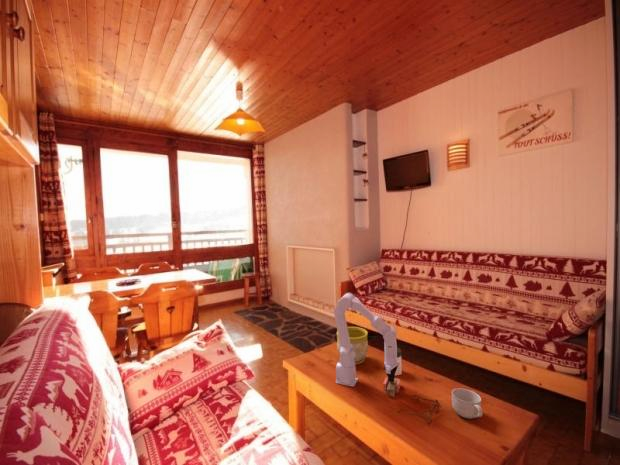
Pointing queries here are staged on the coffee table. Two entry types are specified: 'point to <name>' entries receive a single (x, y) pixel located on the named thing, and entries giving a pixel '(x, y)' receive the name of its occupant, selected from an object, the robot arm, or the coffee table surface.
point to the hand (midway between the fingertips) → (391, 381)
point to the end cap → (388, 383)
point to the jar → (399, 369)
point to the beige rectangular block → (391, 388)
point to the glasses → (426, 410)
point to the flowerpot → (357, 343)
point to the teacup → (466, 403)
